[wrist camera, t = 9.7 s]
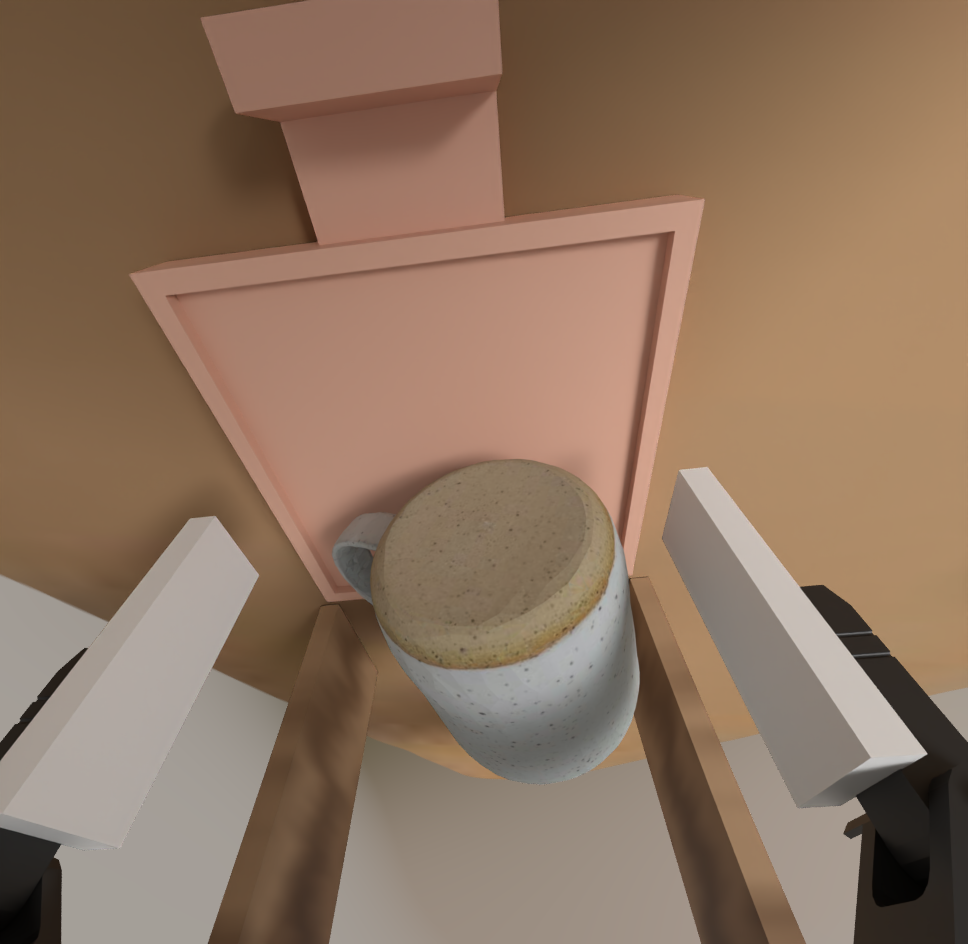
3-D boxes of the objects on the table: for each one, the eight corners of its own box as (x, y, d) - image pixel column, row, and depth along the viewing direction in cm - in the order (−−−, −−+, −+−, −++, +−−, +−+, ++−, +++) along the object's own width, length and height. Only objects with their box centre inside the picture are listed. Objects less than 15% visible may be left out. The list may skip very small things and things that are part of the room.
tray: (70, 86, 9) (-66, 60, 7) (711, -14, 9) (801, -79, 6) (335, 575, 21) (318, 629, 18) (622, 548, 20) (642, 601, 17)
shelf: (321, 605, 22) (137, 1152, 10) (649, 576, 21) (888, 1134, 9) (363, 673, 27) (275, 1094, 15) (631, 652, 26) (770, 1079, 14)
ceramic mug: (593, 418, 12) (674, 678, 7) (612, 566, 18) (667, 783, 12) (300, 482, 15) (174, 718, 9) (394, 597, 20) (353, 792, 14)
